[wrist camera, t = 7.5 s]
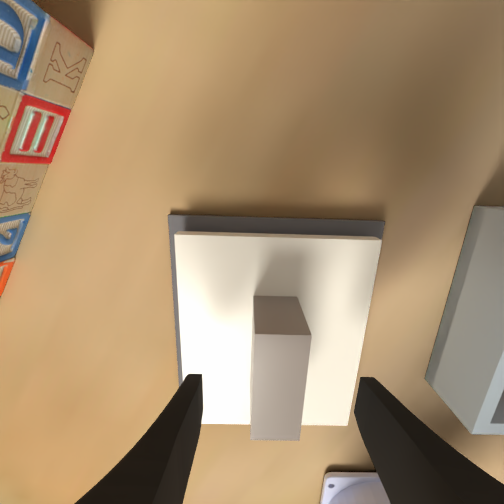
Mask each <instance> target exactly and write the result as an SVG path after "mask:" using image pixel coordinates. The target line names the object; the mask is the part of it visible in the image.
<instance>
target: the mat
mask: <svg viewBox="0 0 504 504" xmlns="http://www.w3.org/2000/svg"><path fill="white" fill-rule="evenodd" d="M168 223H169V239H170V254H171V269H172V285H173V300H174V315H175V330H176V346H177V361H178V376H179V387H180V385H181V384H182V382H183V374H182V357H181V340H180V323H179V306H178V289H177V273H176V256H175V239H174V234H175V233H177V232H178V231H195V232H230V233H265V234H301V235H336V236H371V237H377V238H379V239H380V240H382V236H383V230H384V225H385V221H377V220H343V219H310V218H276V217H242V216H208V215H175V214H169V215H168Z"/></svg>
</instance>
